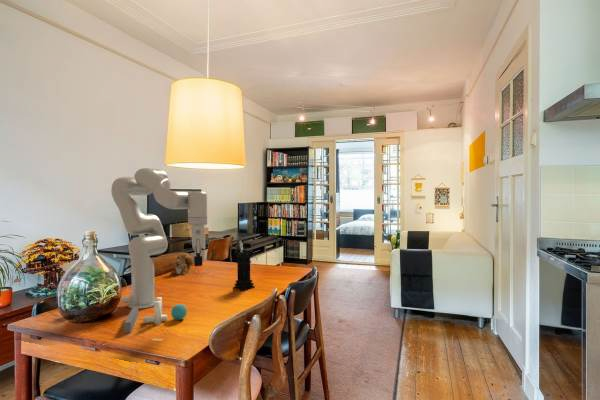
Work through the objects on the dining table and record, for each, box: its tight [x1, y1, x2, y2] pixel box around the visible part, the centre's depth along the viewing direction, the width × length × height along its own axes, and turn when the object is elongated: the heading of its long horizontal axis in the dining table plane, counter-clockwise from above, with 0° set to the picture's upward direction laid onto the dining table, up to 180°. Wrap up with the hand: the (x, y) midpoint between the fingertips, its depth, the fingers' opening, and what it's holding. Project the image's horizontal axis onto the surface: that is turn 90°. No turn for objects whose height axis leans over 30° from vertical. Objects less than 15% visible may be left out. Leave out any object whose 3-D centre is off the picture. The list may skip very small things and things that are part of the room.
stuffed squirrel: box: [169, 252, 194, 276], centre depth 214 cm, size 10×14×13 cm
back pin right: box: [153, 301, 162, 325], centre depth 129 cm, size 2×2×8 cm
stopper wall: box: [123, 306, 139, 334], centre depth 128 cm, size 2×18×4 cm, turn 18°
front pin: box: [142, 314, 168, 324], centre depth 131 cm, size 2×2×8 cm
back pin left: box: [155, 296, 163, 315], centre depth 134 cm, size 2×2×8 cm
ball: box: [170, 303, 188, 321], centre depth 133 cm, size 6×6×6 cm
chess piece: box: [233, 249, 255, 291], centre depth 178 cm, size 8×8×20 cm
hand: (198, 265), depth 136 cm, fingers closed
